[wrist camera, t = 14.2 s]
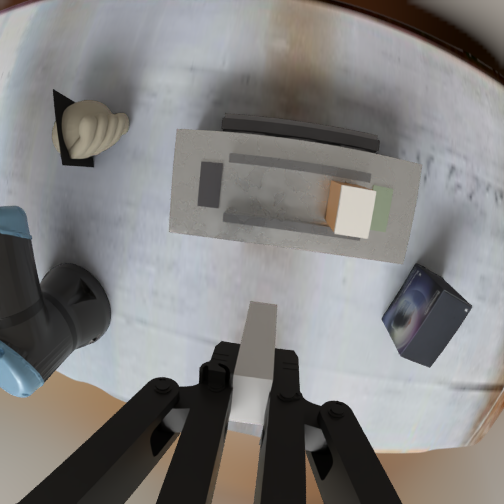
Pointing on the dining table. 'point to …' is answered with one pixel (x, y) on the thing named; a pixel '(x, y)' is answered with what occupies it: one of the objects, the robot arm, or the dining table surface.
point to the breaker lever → (350, 209)
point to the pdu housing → (287, 192)
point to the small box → (424, 316)
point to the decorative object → (85, 129)
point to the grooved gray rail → (300, 131)
